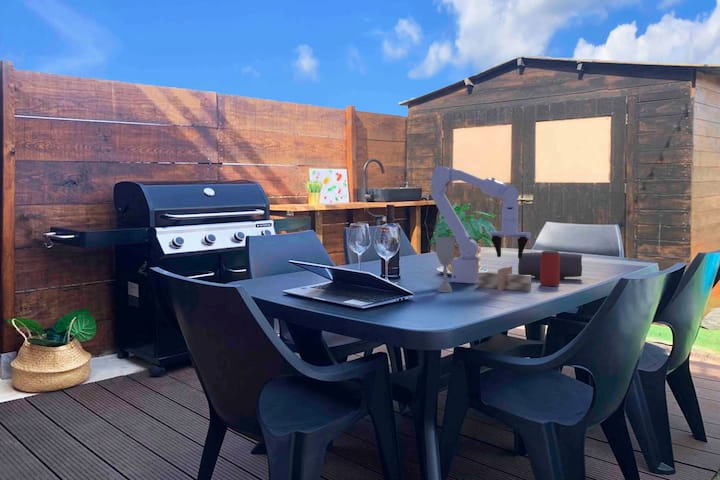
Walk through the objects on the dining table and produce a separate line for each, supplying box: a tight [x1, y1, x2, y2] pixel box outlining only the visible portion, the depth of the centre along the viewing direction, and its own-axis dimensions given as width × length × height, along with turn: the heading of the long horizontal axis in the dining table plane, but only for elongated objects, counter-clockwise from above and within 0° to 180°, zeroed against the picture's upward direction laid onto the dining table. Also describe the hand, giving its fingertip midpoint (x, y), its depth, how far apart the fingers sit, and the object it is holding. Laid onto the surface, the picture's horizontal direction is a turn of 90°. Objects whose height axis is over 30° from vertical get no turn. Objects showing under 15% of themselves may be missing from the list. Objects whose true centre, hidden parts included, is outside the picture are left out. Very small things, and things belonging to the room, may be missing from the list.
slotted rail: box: [477, 271, 532, 292], centre depth 211 cm, size 18×2×5 cm, turn 59°
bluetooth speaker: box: [517, 251, 583, 280], centre depth 232 cm, size 23×9×10 cm, turn 73°
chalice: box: [434, 236, 456, 293], centre depth 206 cm, size 7×7×18 cm
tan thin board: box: [497, 265, 513, 292], centre depth 211 cm, size 1×12×7 cm, turn 149°
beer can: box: [539, 250, 561, 287], centre depth 216 cm, size 7×7×12 cm
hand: (509, 257), depth 221 cm, fingers open, 7 cm apart
